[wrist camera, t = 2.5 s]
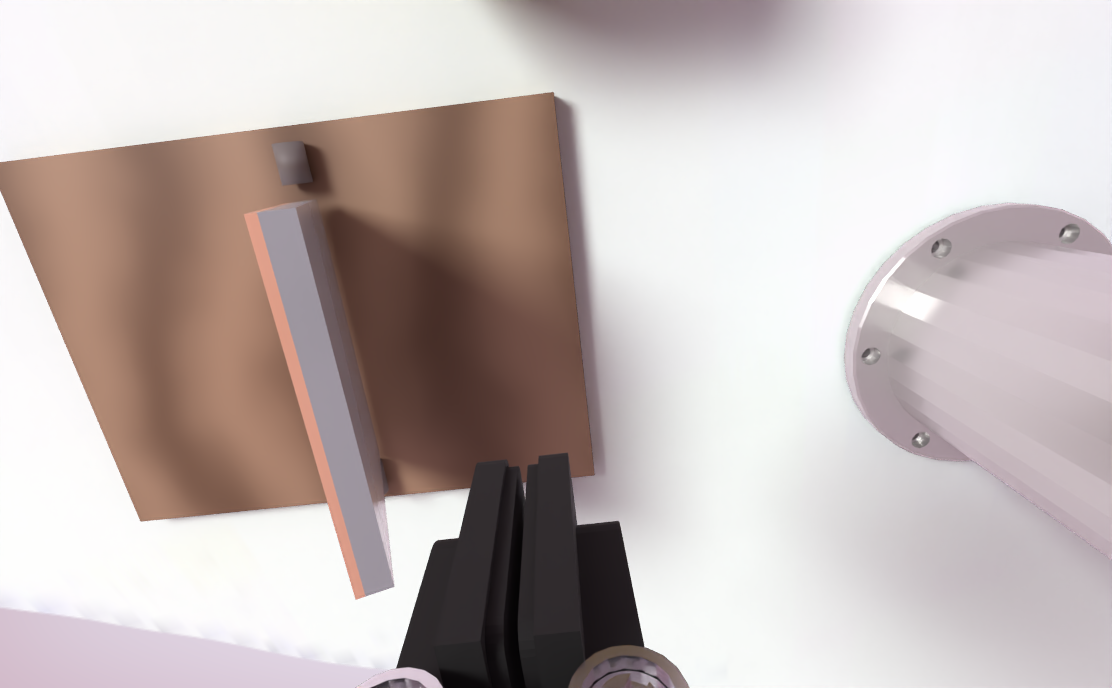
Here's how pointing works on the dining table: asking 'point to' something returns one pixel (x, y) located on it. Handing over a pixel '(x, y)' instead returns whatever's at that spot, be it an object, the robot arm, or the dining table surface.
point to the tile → (326, 383)
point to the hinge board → (365, 286)
